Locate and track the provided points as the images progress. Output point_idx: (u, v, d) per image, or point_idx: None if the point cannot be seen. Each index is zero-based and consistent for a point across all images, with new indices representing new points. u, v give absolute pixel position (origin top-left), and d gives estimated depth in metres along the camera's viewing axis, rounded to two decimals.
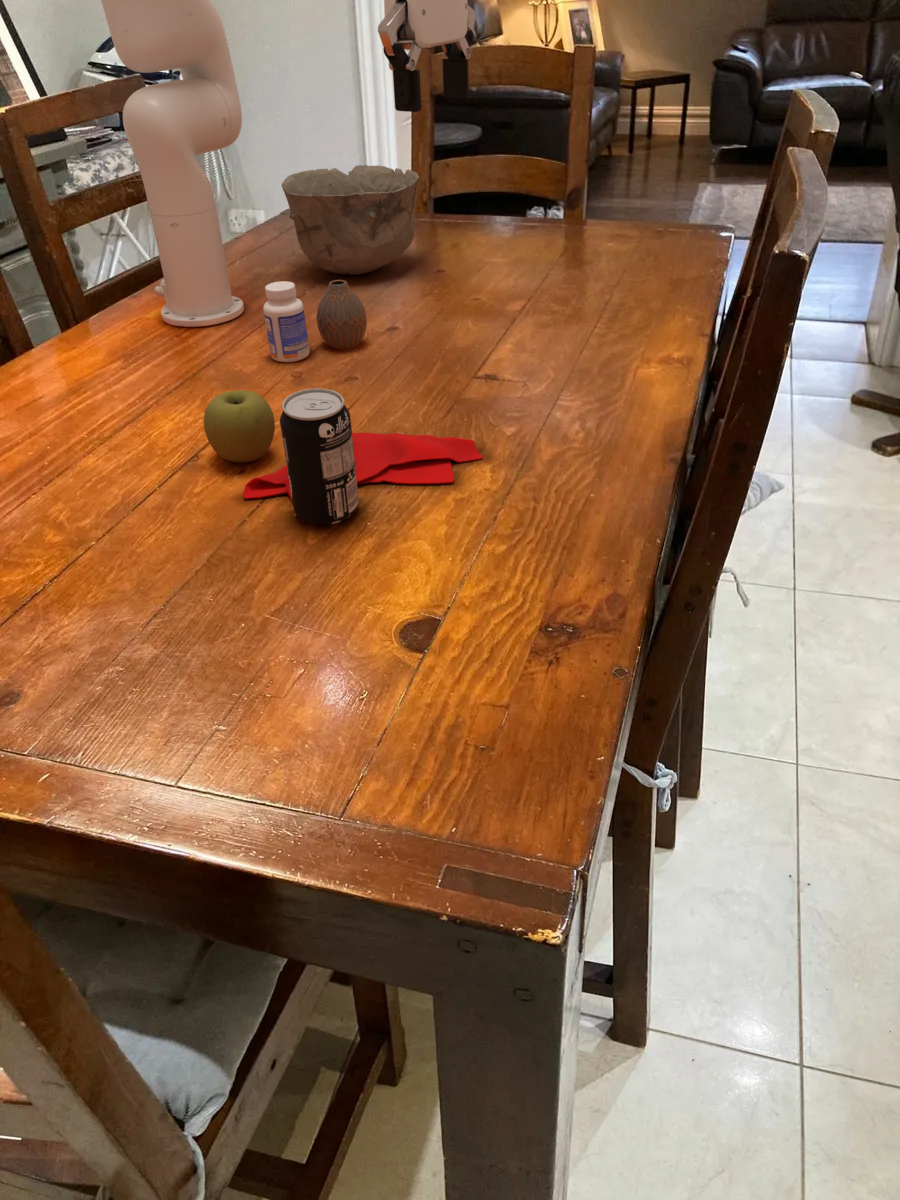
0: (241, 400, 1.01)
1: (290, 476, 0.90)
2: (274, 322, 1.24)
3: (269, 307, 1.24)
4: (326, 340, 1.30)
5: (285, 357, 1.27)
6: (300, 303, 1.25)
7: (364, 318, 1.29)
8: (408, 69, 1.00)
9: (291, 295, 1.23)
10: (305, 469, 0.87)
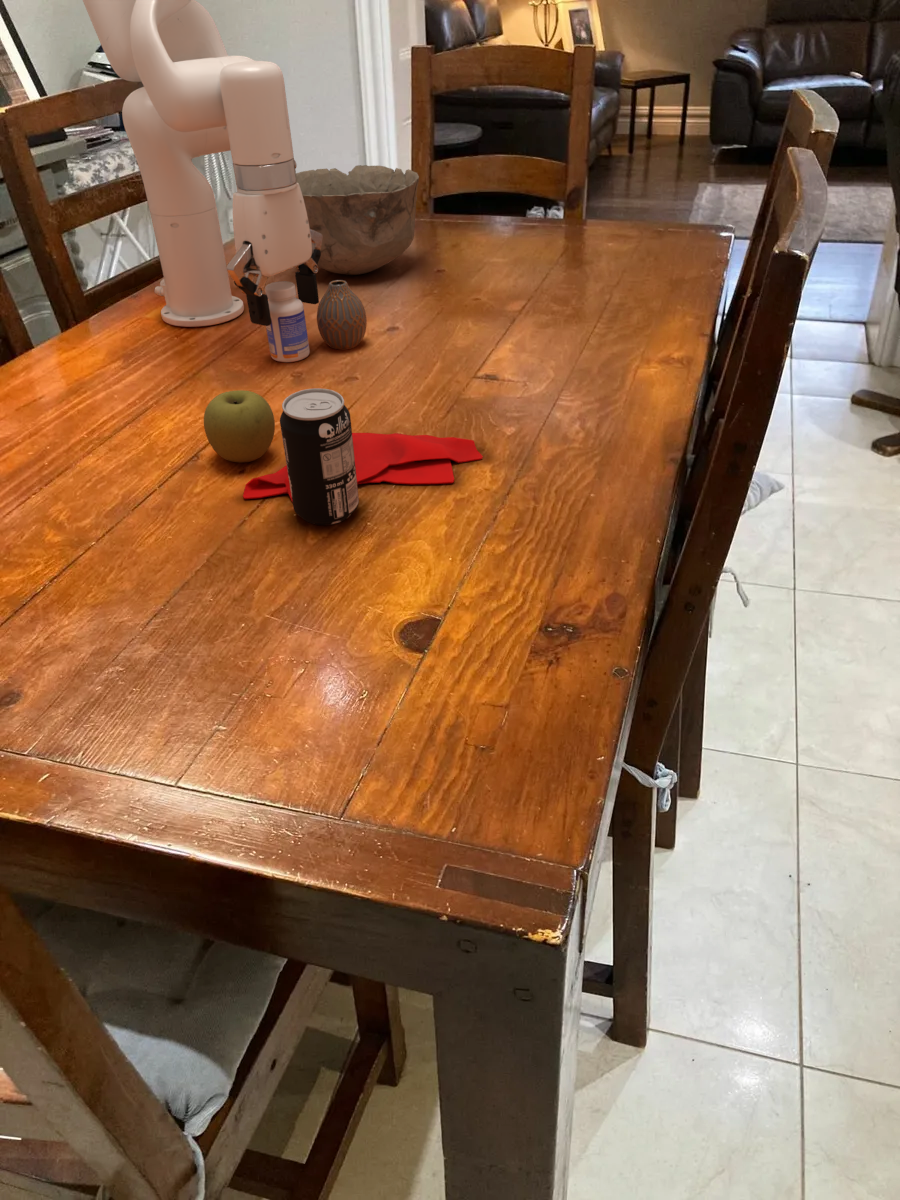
0: (241, 400, 1.01)
1: (290, 476, 0.90)
2: (274, 322, 1.24)
3: (269, 307, 1.24)
4: (326, 340, 1.30)
5: (285, 357, 1.27)
6: (300, 303, 1.25)
7: (364, 318, 1.29)
8: (256, 295, 1.19)
9: (290, 295, 1.23)
10: (305, 469, 0.87)
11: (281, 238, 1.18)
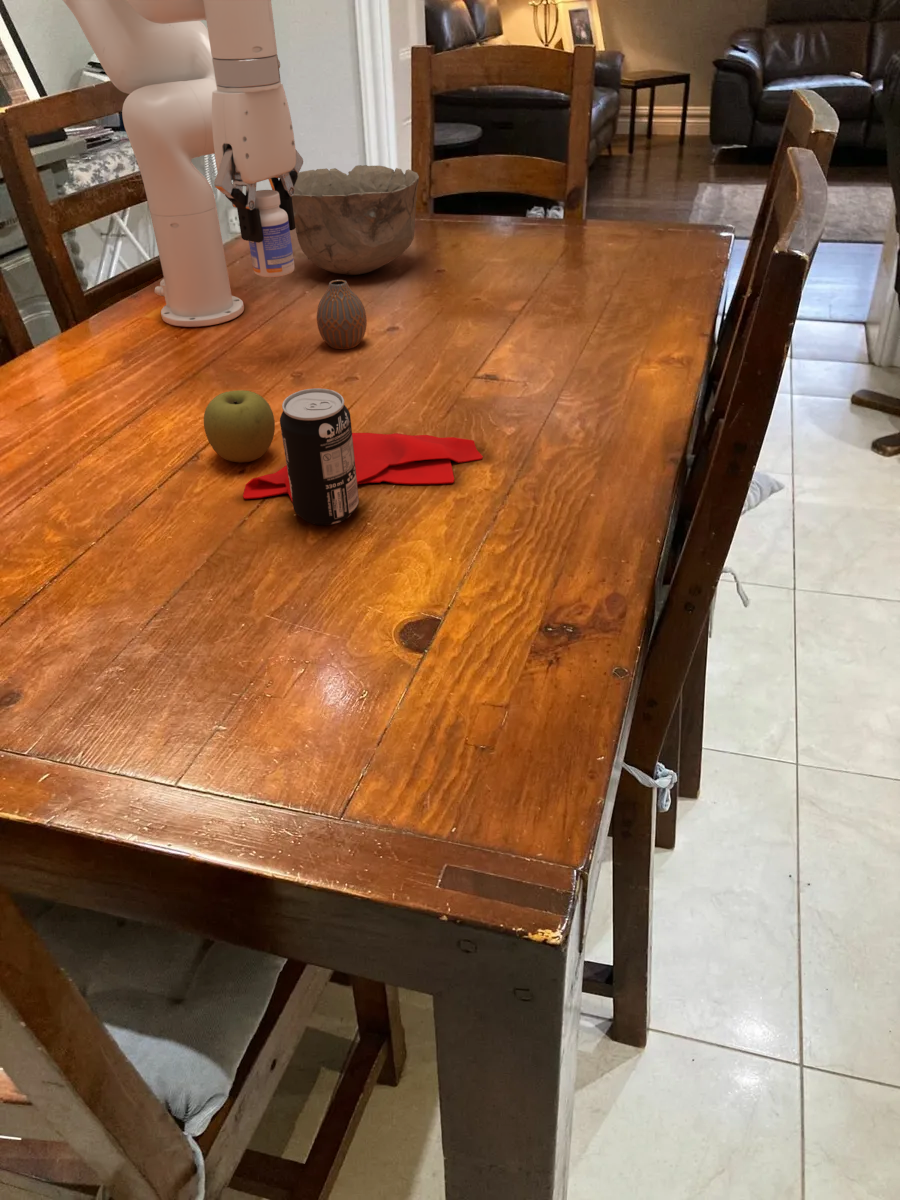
0: (241, 400, 1.01)
1: (290, 476, 0.90)
2: None
3: None
4: (326, 340, 1.30)
5: (268, 271, 1.20)
6: (284, 213, 1.18)
7: (364, 318, 1.29)
8: (248, 208, 1.14)
9: (274, 203, 1.16)
10: (305, 469, 0.87)
11: (263, 142, 1.11)
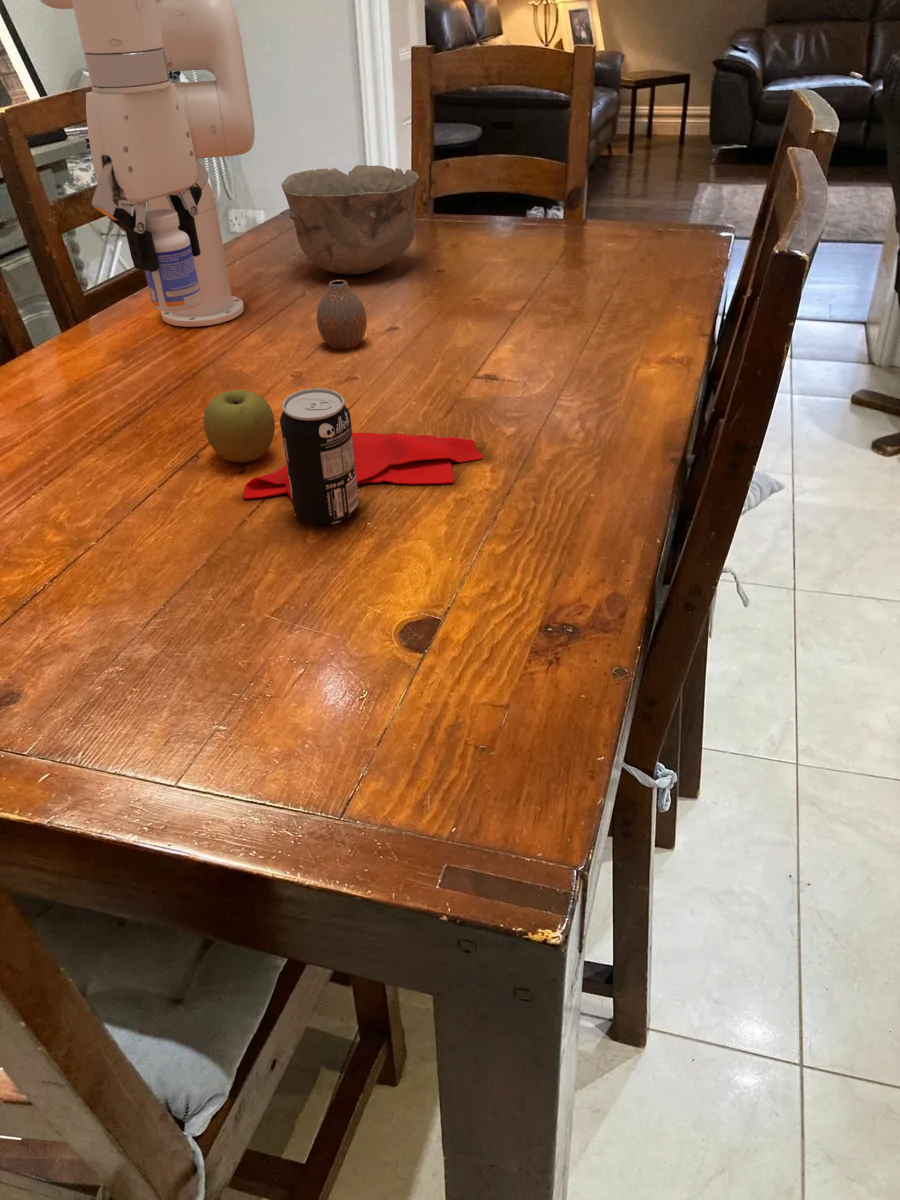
0: (241, 400, 1.01)
1: (290, 476, 0.90)
2: None
3: None
4: (326, 340, 1.30)
5: (168, 305, 1.02)
6: (185, 236, 1.00)
7: (364, 318, 1.29)
8: (136, 232, 0.96)
9: (171, 224, 0.98)
10: (305, 469, 0.87)
11: (151, 153, 0.93)
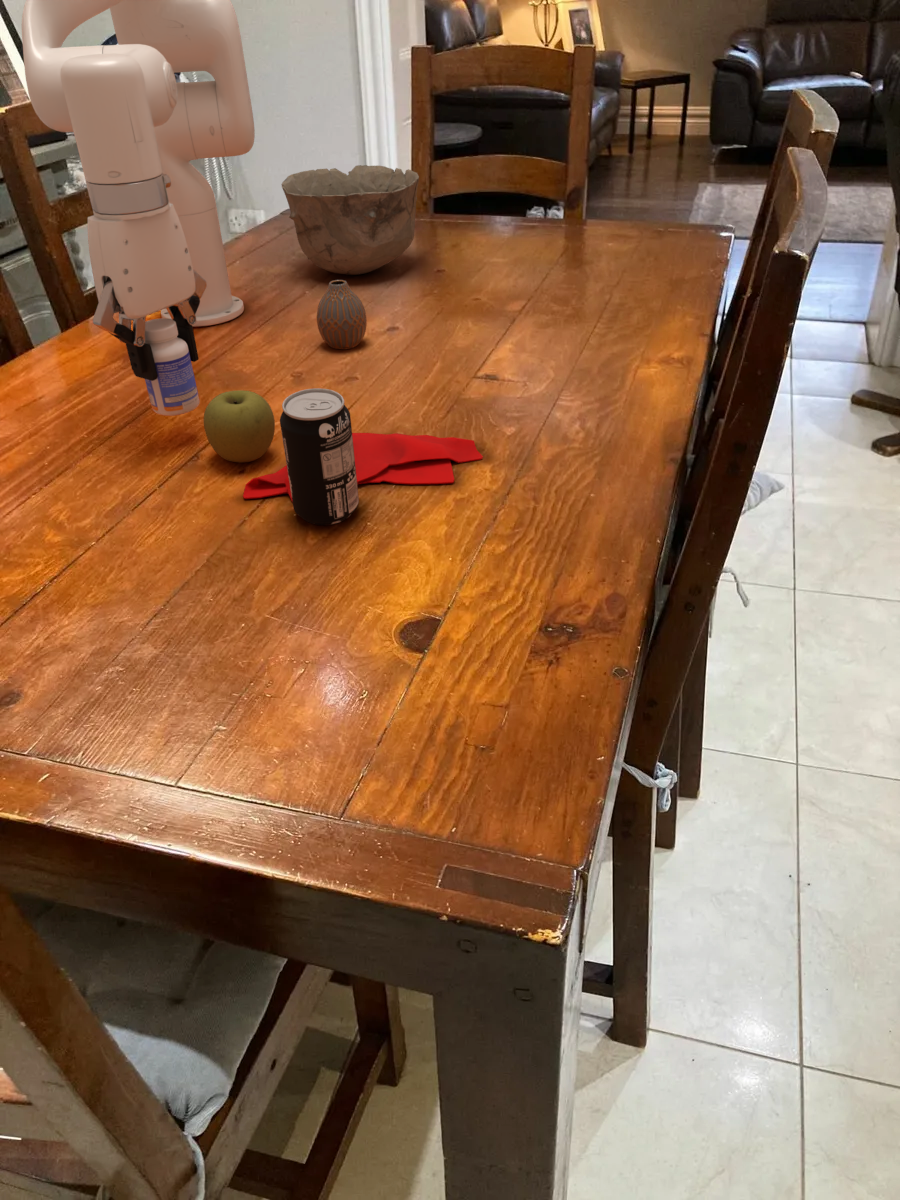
0: (241, 400, 1.01)
1: (290, 476, 0.90)
2: None
3: None
4: (326, 340, 1.30)
5: (167, 410, 1.05)
6: (183, 345, 1.03)
7: (364, 318, 1.29)
8: (136, 345, 0.99)
9: (169, 335, 1.01)
10: (305, 469, 0.87)
11: (150, 272, 0.96)
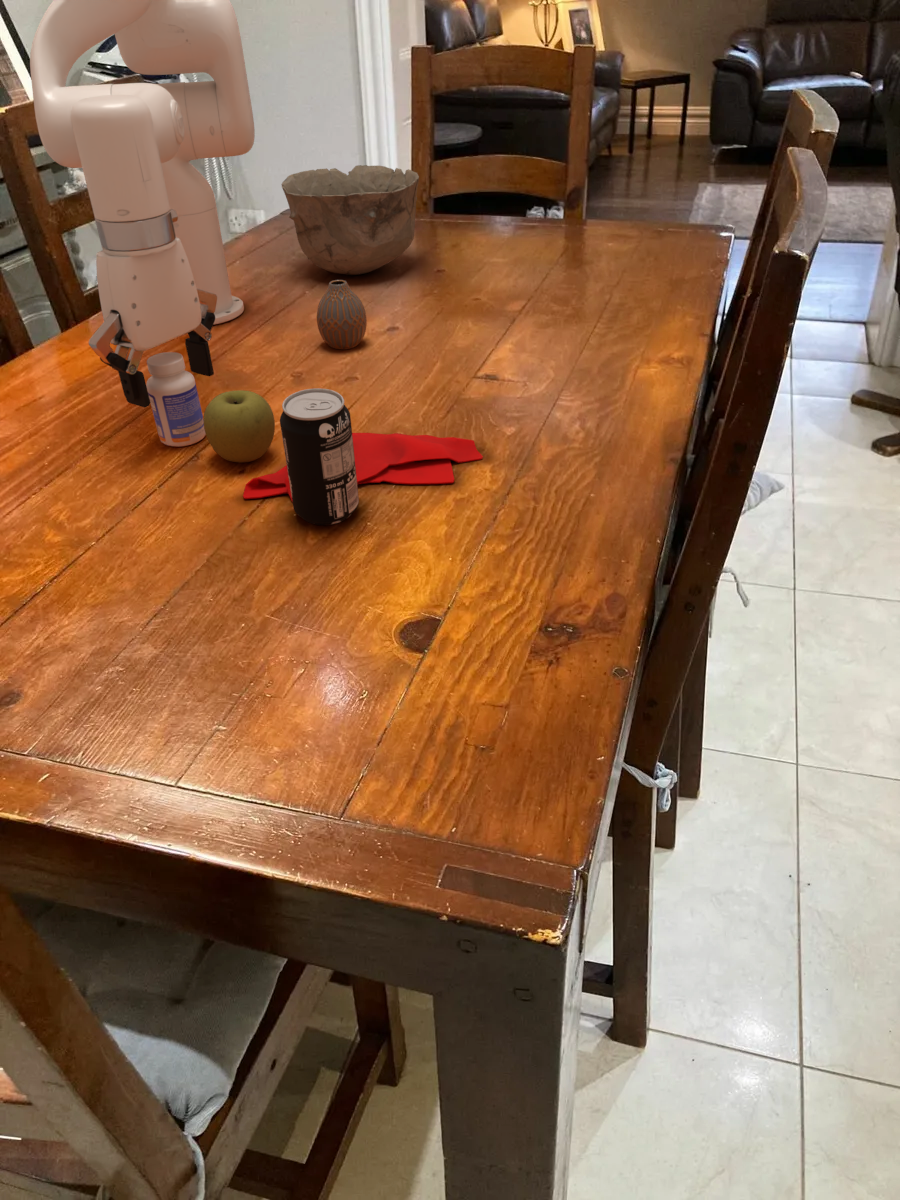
0: (241, 400, 1.01)
1: (290, 476, 0.90)
2: (158, 401, 1.04)
3: (152, 383, 1.04)
4: (326, 340, 1.30)
5: (174, 441, 1.07)
6: (190, 378, 1.05)
7: (364, 318, 1.29)
8: (129, 373, 0.99)
9: (177, 369, 1.03)
10: (305, 469, 0.87)
11: (158, 306, 0.98)
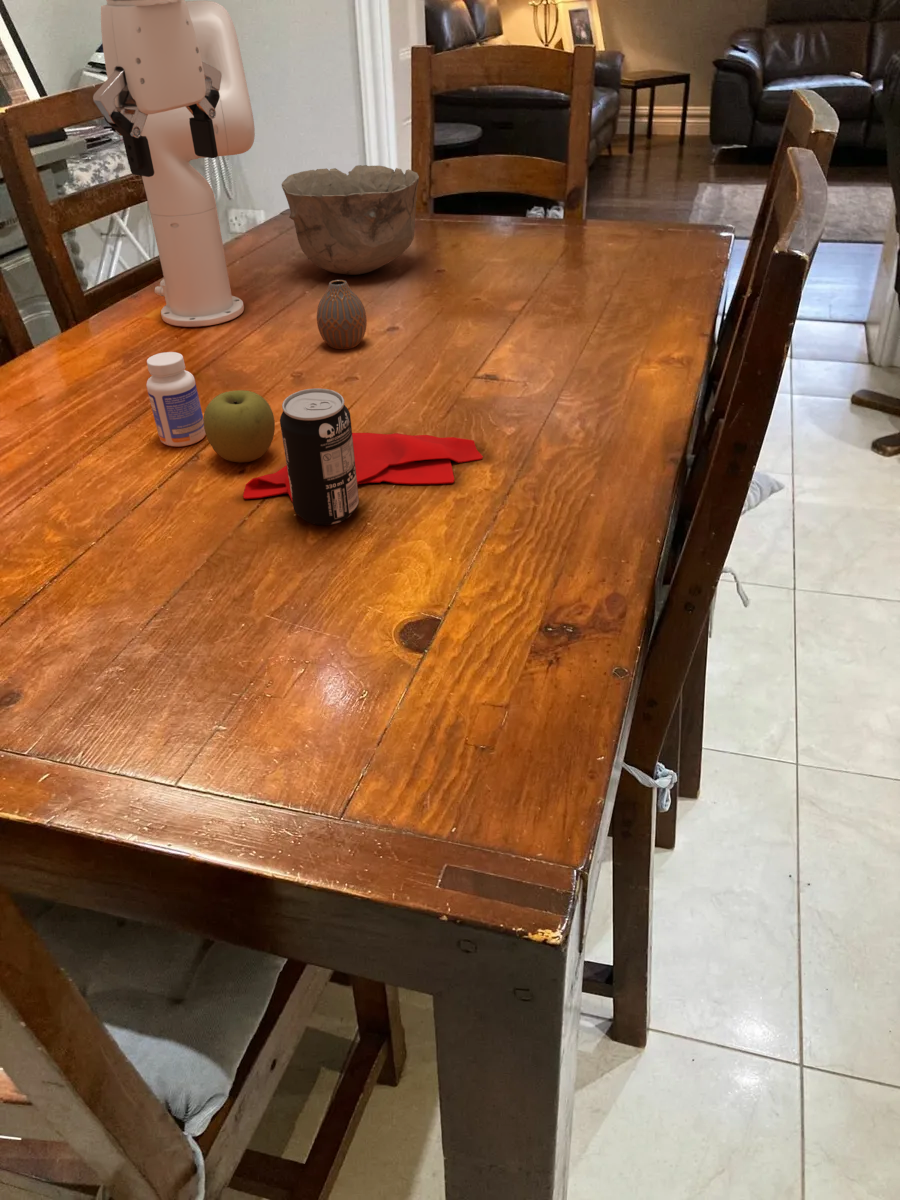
0: (241, 400, 1.01)
1: (290, 476, 0.90)
2: (158, 401, 1.04)
3: (152, 383, 1.04)
4: (326, 340, 1.30)
5: (174, 441, 1.07)
6: (190, 378, 1.05)
7: (364, 318, 1.29)
8: (133, 136, 0.99)
9: (177, 369, 1.03)
10: (305, 469, 0.87)
11: (162, 66, 0.98)
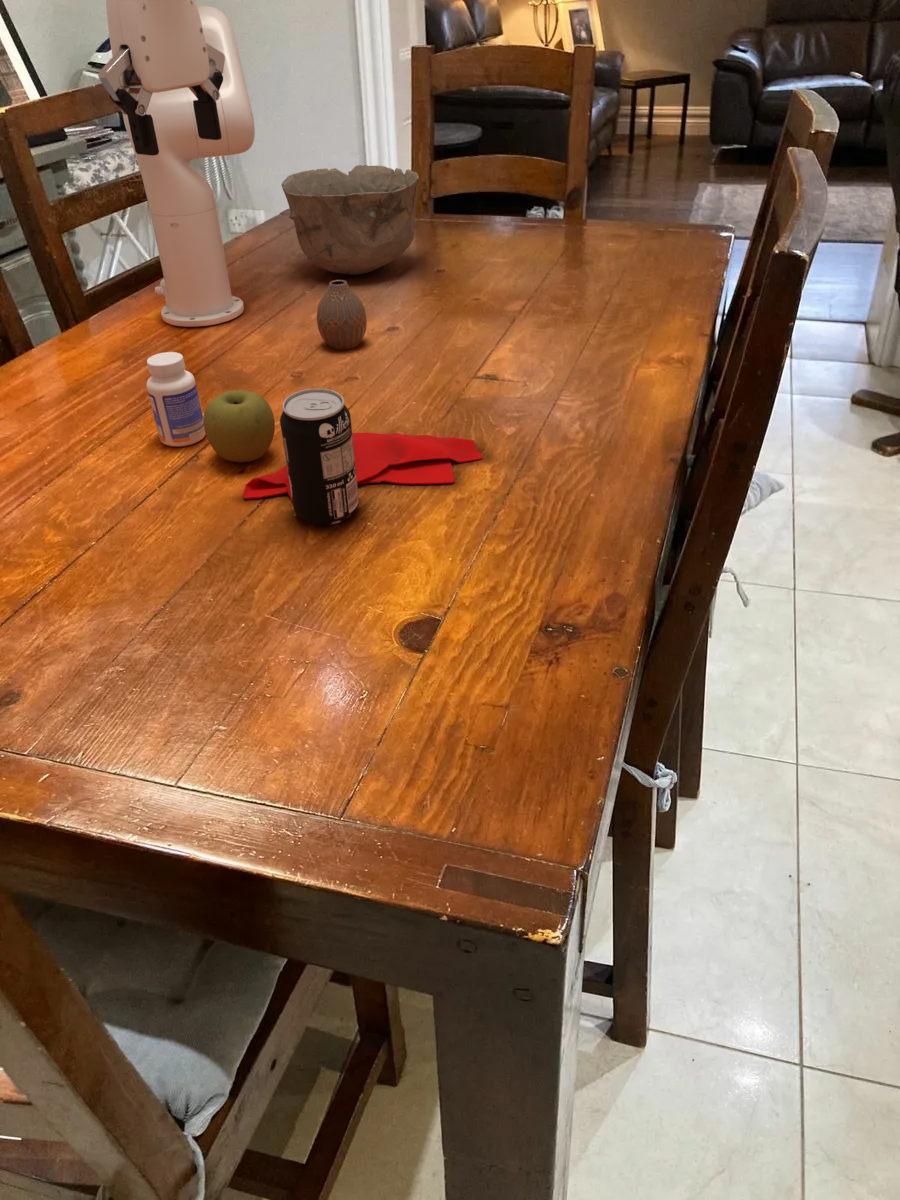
0: (241, 400, 1.01)
1: (290, 476, 0.90)
2: (158, 401, 1.04)
3: (152, 383, 1.04)
4: (326, 340, 1.30)
5: (174, 441, 1.07)
6: (190, 378, 1.05)
7: (364, 318, 1.29)
8: (138, 114, 1.00)
9: (177, 369, 1.03)
10: (306, 469, 0.87)
11: (167, 44, 0.99)
